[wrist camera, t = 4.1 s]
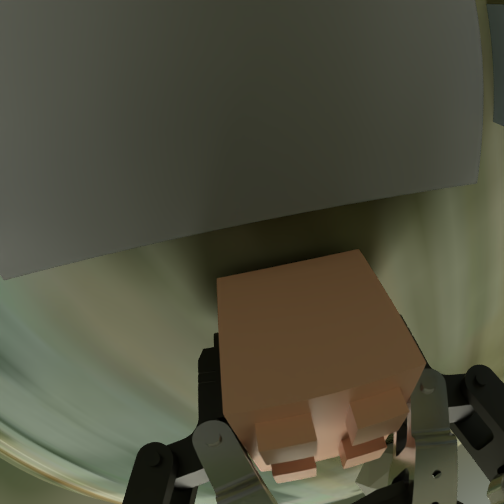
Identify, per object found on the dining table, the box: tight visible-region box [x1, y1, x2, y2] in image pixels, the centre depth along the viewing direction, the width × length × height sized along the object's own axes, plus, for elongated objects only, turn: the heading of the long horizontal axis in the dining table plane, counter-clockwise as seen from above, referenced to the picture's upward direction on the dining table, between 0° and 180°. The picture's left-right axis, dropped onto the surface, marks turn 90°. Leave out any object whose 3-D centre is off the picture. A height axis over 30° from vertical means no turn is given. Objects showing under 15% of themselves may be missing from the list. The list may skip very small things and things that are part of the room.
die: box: [355, 443, 394, 496], centre depth 26 cm, size 8×9×10 cm
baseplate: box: [0, 0, 483, 280], centre depth 6 cm, size 18×11×1 cm, turn 100°
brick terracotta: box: [217, 249, 426, 483], centre depth 10 cm, size 6×5×6 cm
